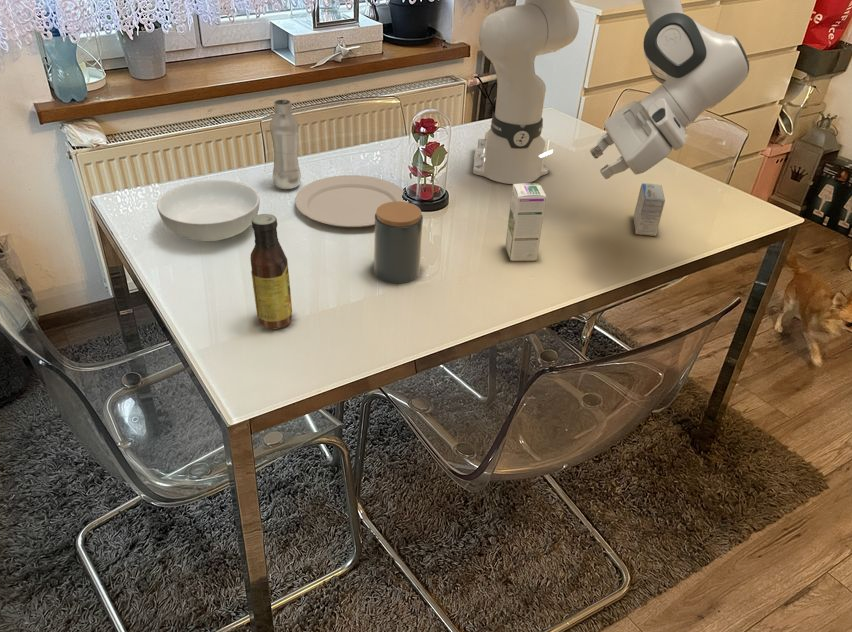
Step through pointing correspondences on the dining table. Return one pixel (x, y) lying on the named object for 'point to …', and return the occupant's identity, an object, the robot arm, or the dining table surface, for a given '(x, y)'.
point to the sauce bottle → (270, 274)
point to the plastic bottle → (285, 146)
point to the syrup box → (525, 221)
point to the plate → (346, 199)
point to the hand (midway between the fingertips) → (597, 164)
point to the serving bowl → (209, 209)
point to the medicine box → (648, 209)
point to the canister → (397, 242)
